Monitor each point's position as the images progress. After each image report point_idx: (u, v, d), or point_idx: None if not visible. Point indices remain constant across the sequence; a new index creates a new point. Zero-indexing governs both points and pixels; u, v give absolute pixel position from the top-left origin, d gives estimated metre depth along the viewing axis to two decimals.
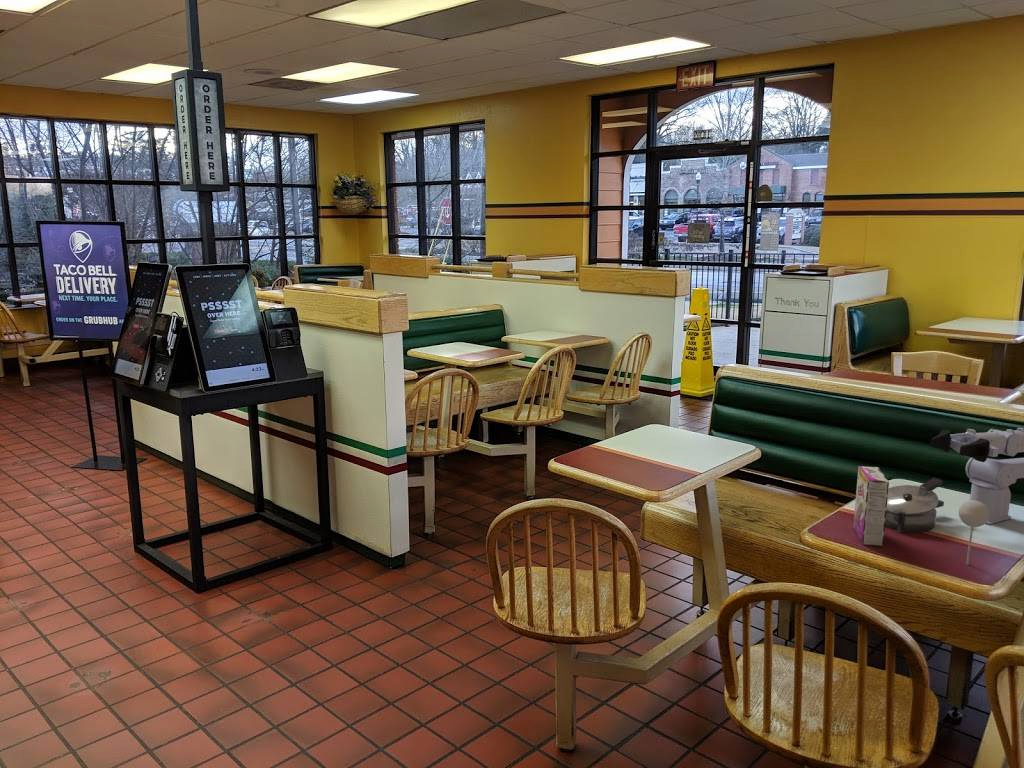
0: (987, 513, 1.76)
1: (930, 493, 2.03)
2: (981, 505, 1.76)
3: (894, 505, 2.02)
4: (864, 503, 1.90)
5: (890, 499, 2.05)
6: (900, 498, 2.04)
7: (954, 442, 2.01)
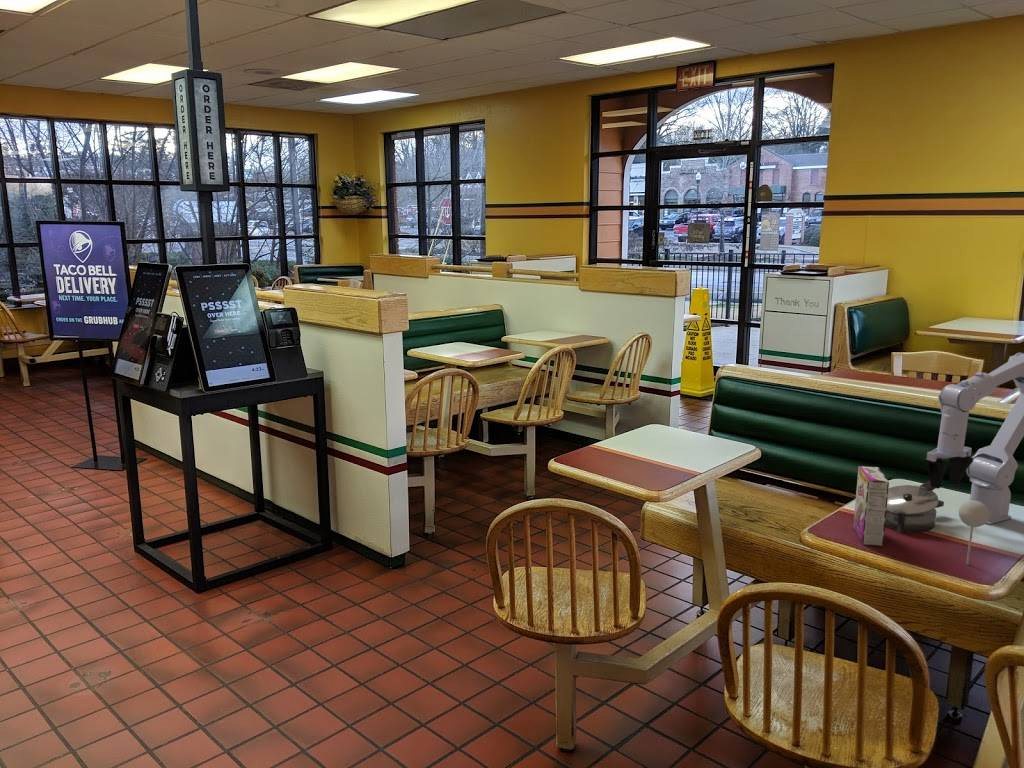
0: (987, 513, 1.76)
1: (930, 493, 2.03)
2: (981, 505, 1.76)
3: (894, 505, 2.02)
4: (864, 503, 1.90)
5: (890, 499, 2.05)
6: (900, 498, 2.04)
7: None
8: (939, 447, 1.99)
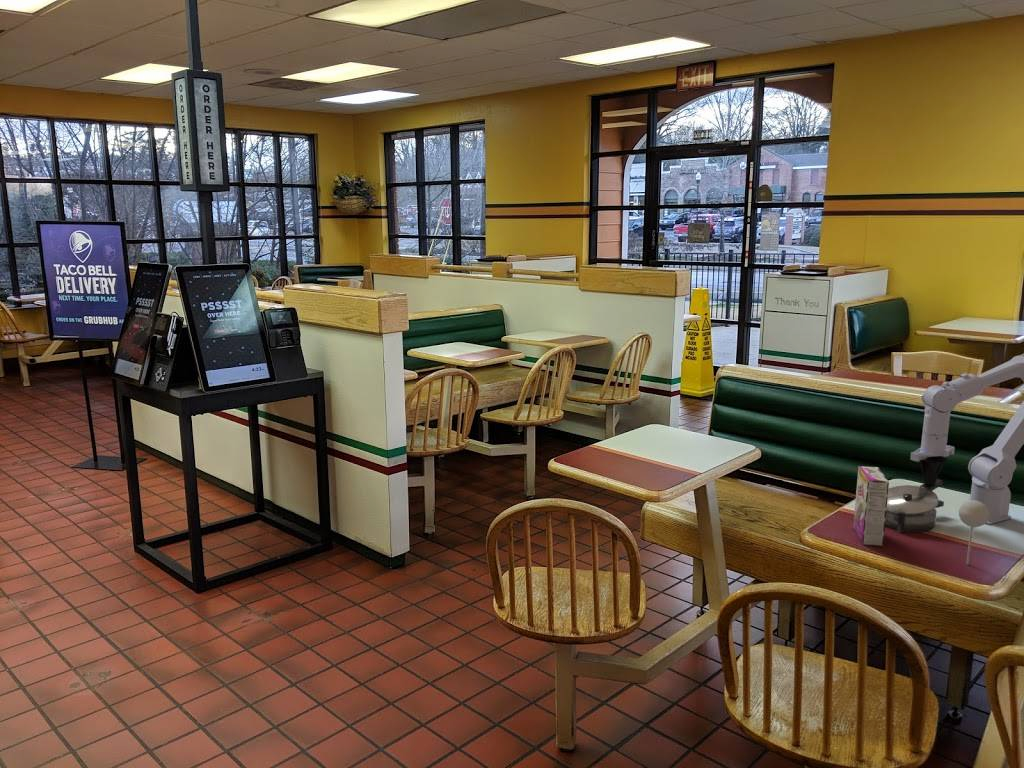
0: (987, 513, 1.76)
1: (930, 493, 2.03)
2: (981, 505, 1.76)
3: (894, 505, 2.02)
4: (864, 503, 1.90)
5: (890, 499, 2.05)
6: (900, 498, 2.04)
7: None
8: (922, 447, 2.04)
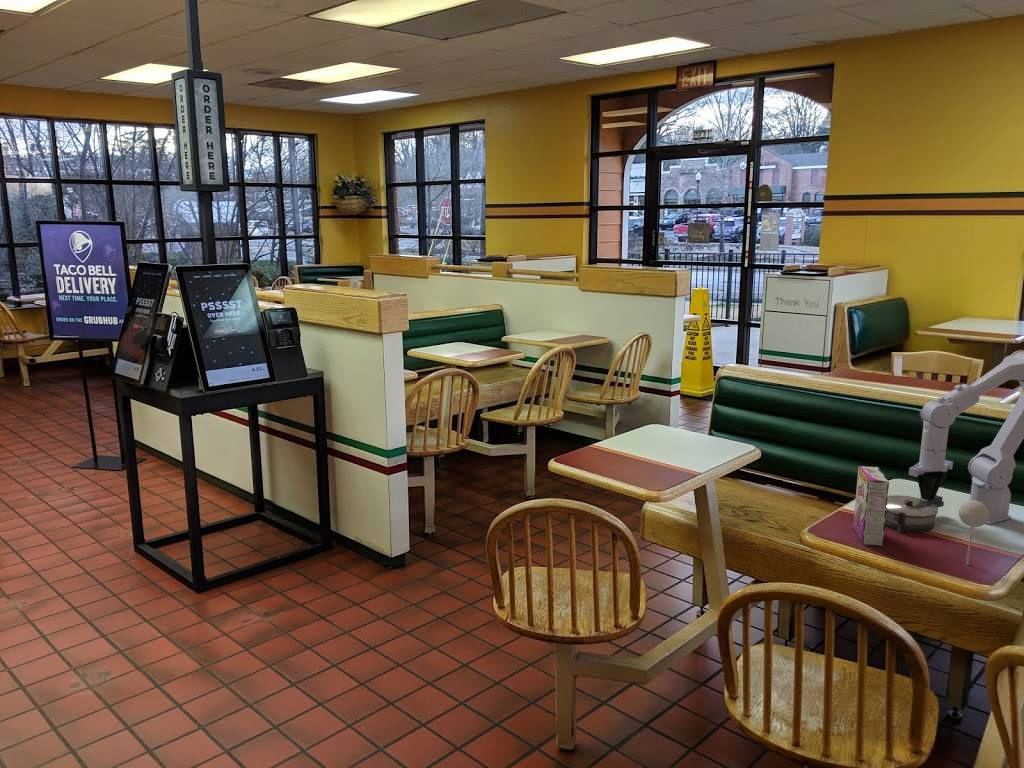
0: (987, 513, 1.76)
1: (930, 504, 2.04)
2: (981, 505, 1.76)
3: (895, 507, 2.02)
4: (864, 503, 1.90)
5: (891, 502, 2.05)
6: (900, 503, 2.05)
7: None
8: (921, 462, 2.05)
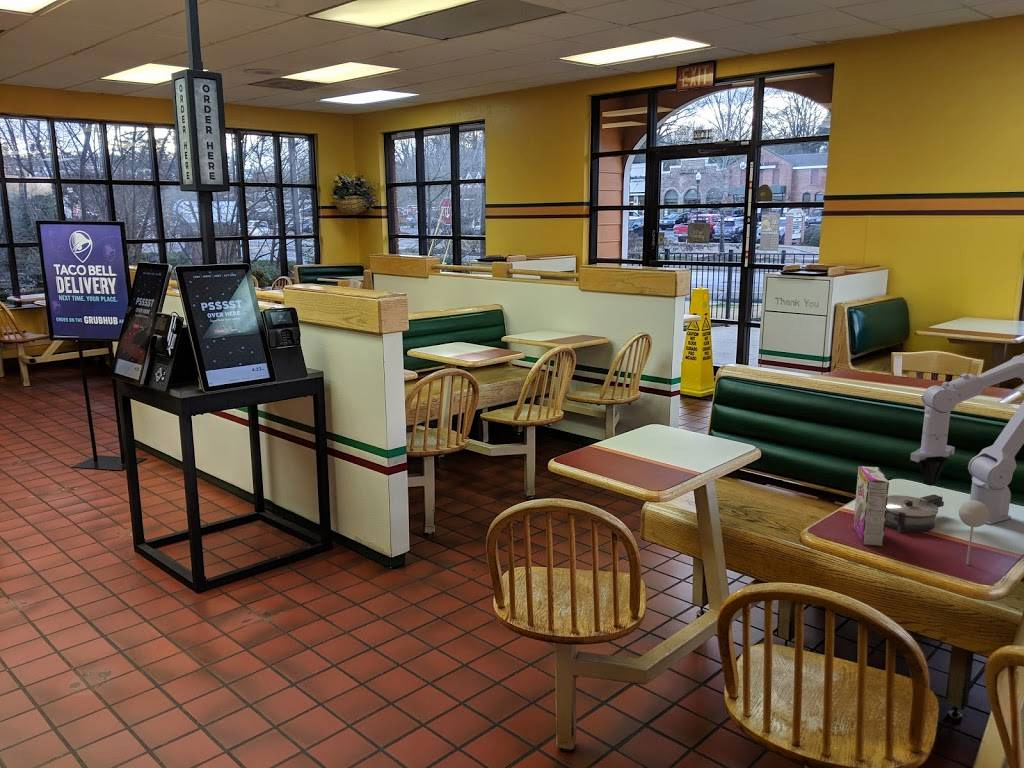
0: (987, 513, 1.76)
1: (930, 504, 2.04)
2: (981, 505, 1.76)
3: (895, 507, 2.02)
4: (864, 503, 1.90)
5: (891, 502, 2.05)
6: (900, 503, 2.05)
7: None
8: (922, 447, 2.04)
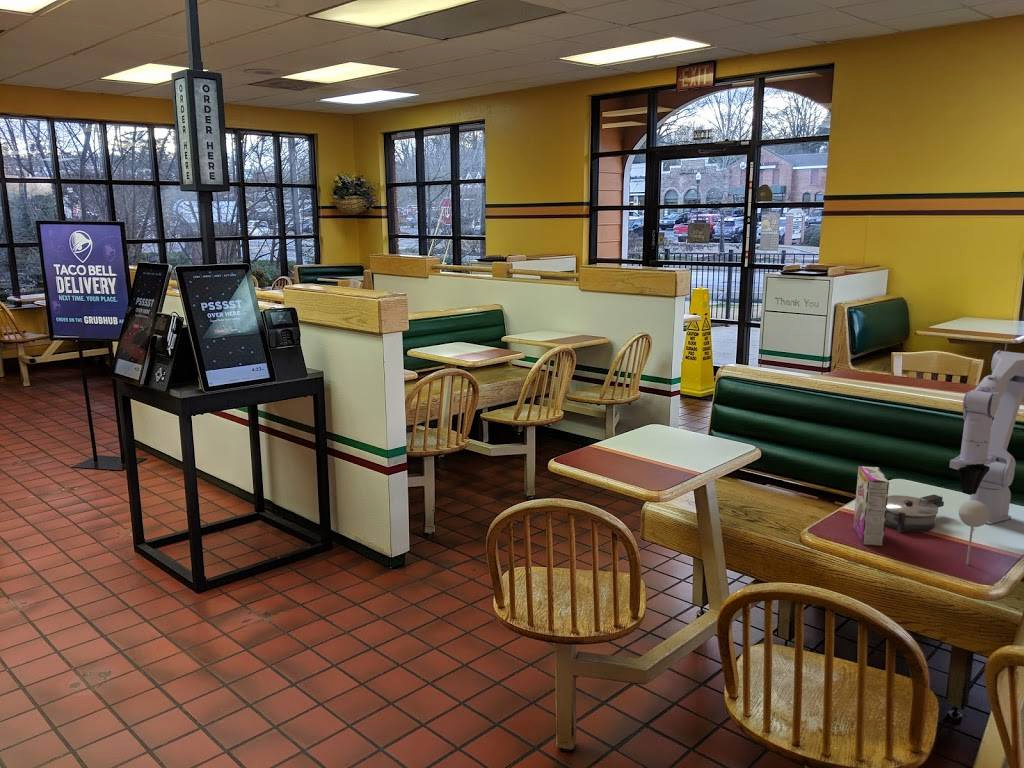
0: (987, 513, 1.76)
1: (930, 504, 2.04)
2: (981, 505, 1.76)
3: (895, 507, 2.02)
4: (864, 503, 1.90)
5: (891, 502, 2.05)
6: (900, 503, 2.05)
7: None
8: (962, 454, 1.94)
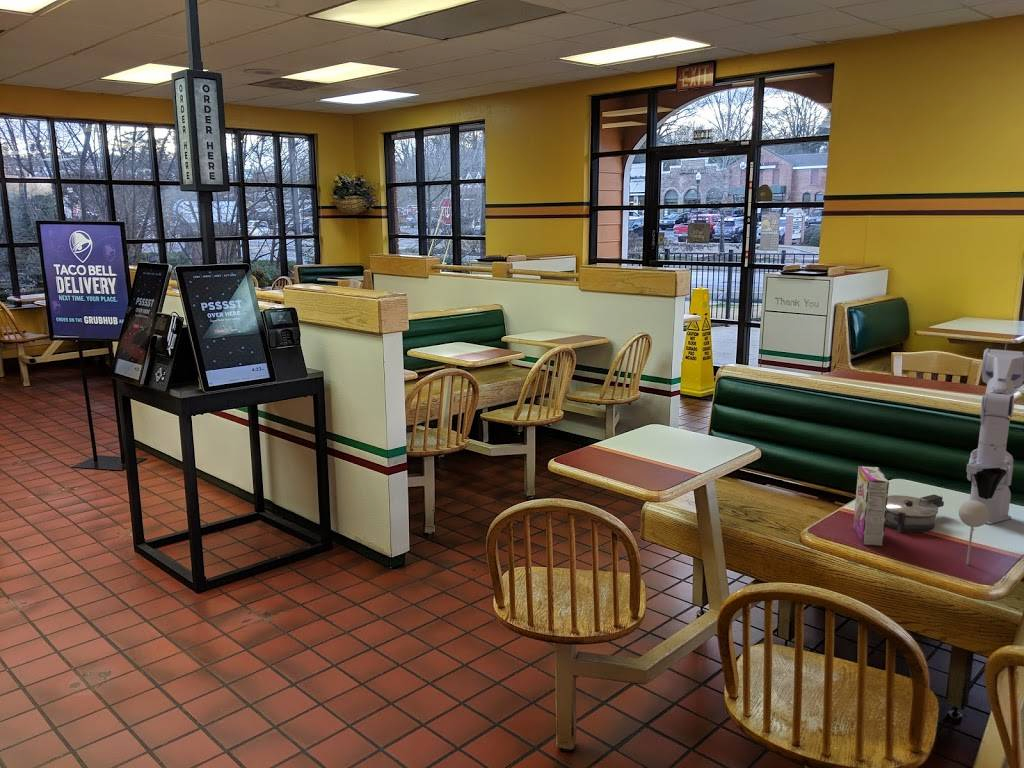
0: (987, 513, 1.76)
1: (930, 504, 2.04)
2: (981, 505, 1.76)
3: (895, 507, 2.02)
4: (864, 503, 1.90)
5: (891, 502, 2.05)
6: (900, 503, 2.05)
7: None
8: (979, 458, 1.91)
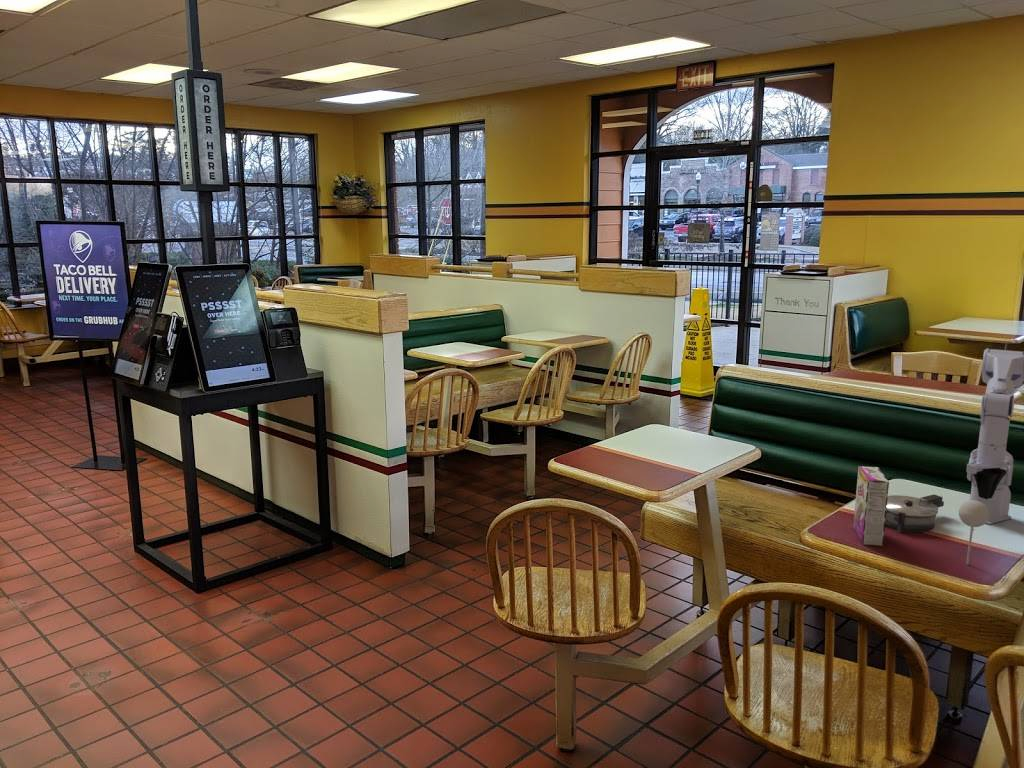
0: (987, 513, 1.76)
1: (930, 504, 2.04)
2: (981, 505, 1.76)
3: (895, 507, 2.02)
4: (864, 503, 1.90)
5: (891, 502, 2.05)
6: (900, 503, 2.05)
7: None
8: (979, 458, 1.91)
